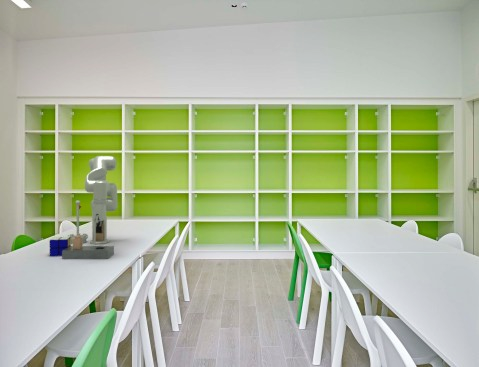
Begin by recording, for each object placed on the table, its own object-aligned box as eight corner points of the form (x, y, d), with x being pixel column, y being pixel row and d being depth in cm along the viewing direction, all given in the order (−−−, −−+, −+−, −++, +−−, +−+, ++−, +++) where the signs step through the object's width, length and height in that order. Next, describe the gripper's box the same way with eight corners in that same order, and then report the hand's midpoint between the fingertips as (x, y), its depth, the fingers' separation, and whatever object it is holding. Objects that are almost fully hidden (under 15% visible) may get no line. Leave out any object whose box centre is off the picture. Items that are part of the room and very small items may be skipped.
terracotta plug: (75, 253, 212) (75, 235, 211) (82, 253, 212) (82, 235, 212) (72, 255, 208) (72, 236, 207) (79, 255, 208) (79, 236, 208)
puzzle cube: (49, 256, 209) (49, 239, 209) (53, 252, 219) (53, 236, 218) (67, 255, 212) (67, 239, 211) (71, 252, 221) (71, 236, 221)
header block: (70, 254, 216) (70, 245, 215) (114, 254, 217) (114, 246, 217) (62, 258, 204) (62, 250, 203) (108, 258, 205) (108, 250, 205)
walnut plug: (97, 239, 212) (97, 221, 212) (104, 240, 213) (104, 221, 212) (95, 241, 208) (95, 222, 208) (102, 241, 209) (102, 222, 208)
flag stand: (82, 244, 243) (82, 201, 242) (64, 244, 243) (63, 201, 242) (91, 240, 256) (91, 199, 255) (73, 240, 256) (73, 199, 255)
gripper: (98, 200, 218) (98, 229, 218) (88, 203, 201) (88, 234, 202) (110, 200, 218) (110, 230, 219) (102, 203, 202) (102, 234, 202)
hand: (100, 232), depth 210 cm, fingers closed on walnut plug, 4 cm apart
